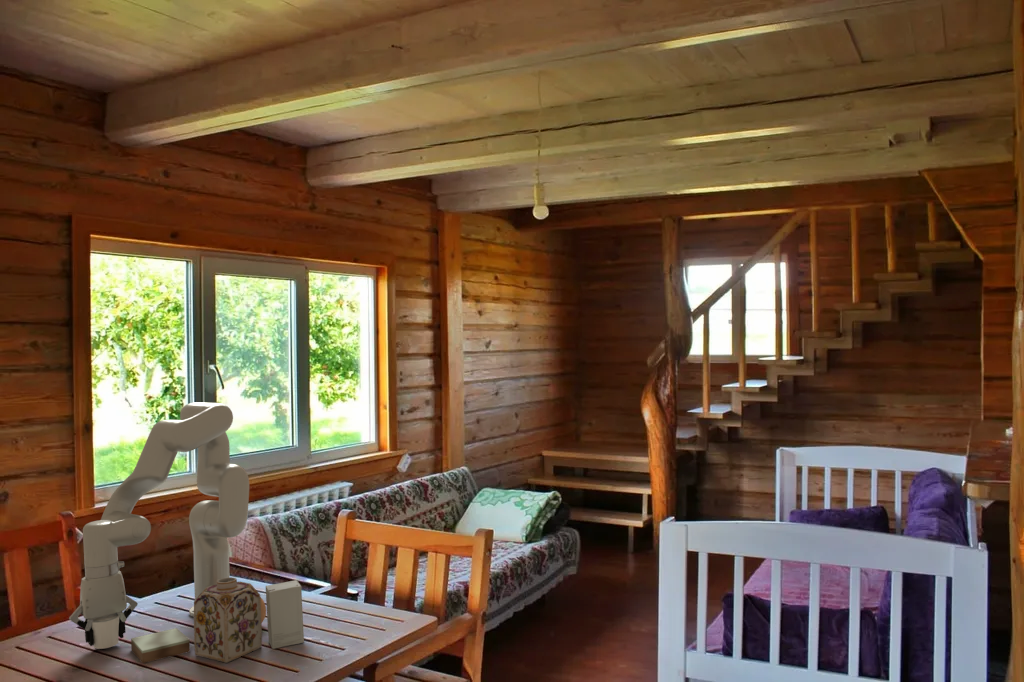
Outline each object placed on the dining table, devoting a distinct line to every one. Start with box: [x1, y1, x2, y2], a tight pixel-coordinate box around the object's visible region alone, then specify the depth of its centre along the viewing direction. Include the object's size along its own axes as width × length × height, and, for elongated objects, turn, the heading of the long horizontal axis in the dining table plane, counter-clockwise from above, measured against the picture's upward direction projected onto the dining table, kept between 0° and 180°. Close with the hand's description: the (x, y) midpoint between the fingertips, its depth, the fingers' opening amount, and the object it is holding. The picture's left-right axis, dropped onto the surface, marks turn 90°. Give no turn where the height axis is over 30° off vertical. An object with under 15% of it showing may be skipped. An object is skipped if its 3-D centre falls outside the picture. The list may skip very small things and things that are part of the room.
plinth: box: [130, 627, 191, 664], centre depth 204 cm, size 11×11×3 cm
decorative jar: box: [193, 577, 263, 664], centre depth 203 cm, size 12×12×18 cm
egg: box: [260, 596, 267, 624], centre depth 220 cm, size 7×7×9 cm
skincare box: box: [265, 579, 305, 650], centre depth 208 cm, size 8×6×15 cm
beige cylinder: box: [91, 613, 120, 650], centre depth 207 cm, size 7×7×7 cm
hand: (105, 639), depth 207 cm, fingers closed on beige cylinder, 6 cm apart
